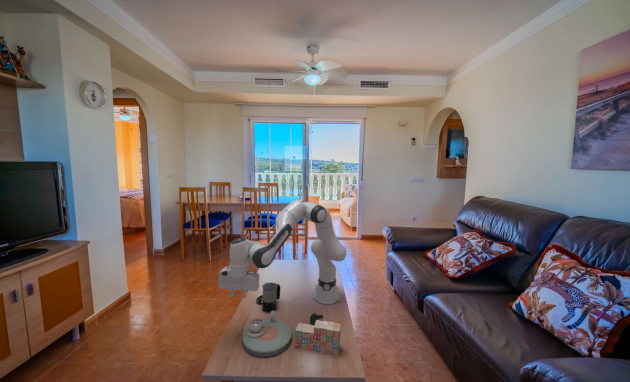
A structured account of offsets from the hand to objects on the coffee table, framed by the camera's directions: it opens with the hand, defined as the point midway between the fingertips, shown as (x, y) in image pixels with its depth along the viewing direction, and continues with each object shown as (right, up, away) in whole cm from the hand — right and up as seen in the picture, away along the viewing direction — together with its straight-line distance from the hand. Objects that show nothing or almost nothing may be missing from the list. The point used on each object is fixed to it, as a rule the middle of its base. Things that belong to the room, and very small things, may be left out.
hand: (238, 297), depth 128 cm
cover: (+8, -18, +1) cm, 20 cm away
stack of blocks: (+40, -23, -4) cm, 46 cm away
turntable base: (+14, -22, +1) cm, 26 cm away
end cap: (+39, -22, +10) cm, 46 cm away
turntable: (+14, -20, +1) cm, 24 cm away
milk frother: (+8, -19, +31) cm, 37 cm away
